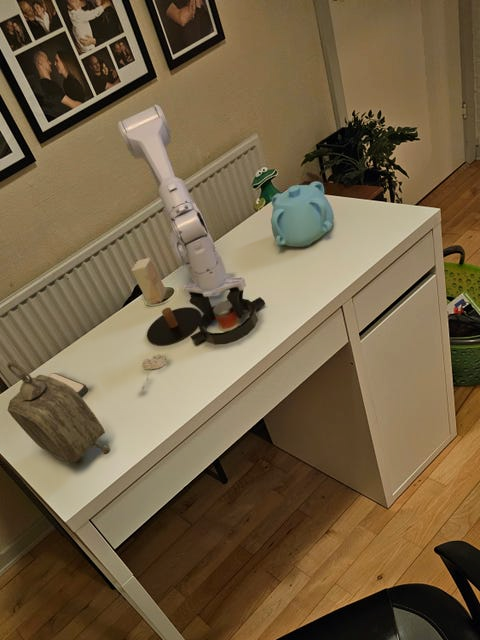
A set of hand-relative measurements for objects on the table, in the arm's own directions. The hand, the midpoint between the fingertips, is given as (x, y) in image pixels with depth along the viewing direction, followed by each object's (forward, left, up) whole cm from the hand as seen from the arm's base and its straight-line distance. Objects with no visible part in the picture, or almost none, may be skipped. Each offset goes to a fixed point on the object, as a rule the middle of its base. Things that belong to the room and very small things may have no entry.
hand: (226, 316), depth 126 cm
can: (0, 0, -3) cm, 3 cm away
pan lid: (-1, -16, -3) cm, 16 cm away
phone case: (+22, -39, -3) cm, 45 cm away
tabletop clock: (+40, -20, -3) cm, 45 cm away
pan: (0, 0, -3) cm, 3 cm away
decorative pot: (-38, +9, -3) cm, 39 cm away
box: (-15, -28, -3) cm, 32 cm away
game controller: (+16, -15, -3) cm, 22 cm away
